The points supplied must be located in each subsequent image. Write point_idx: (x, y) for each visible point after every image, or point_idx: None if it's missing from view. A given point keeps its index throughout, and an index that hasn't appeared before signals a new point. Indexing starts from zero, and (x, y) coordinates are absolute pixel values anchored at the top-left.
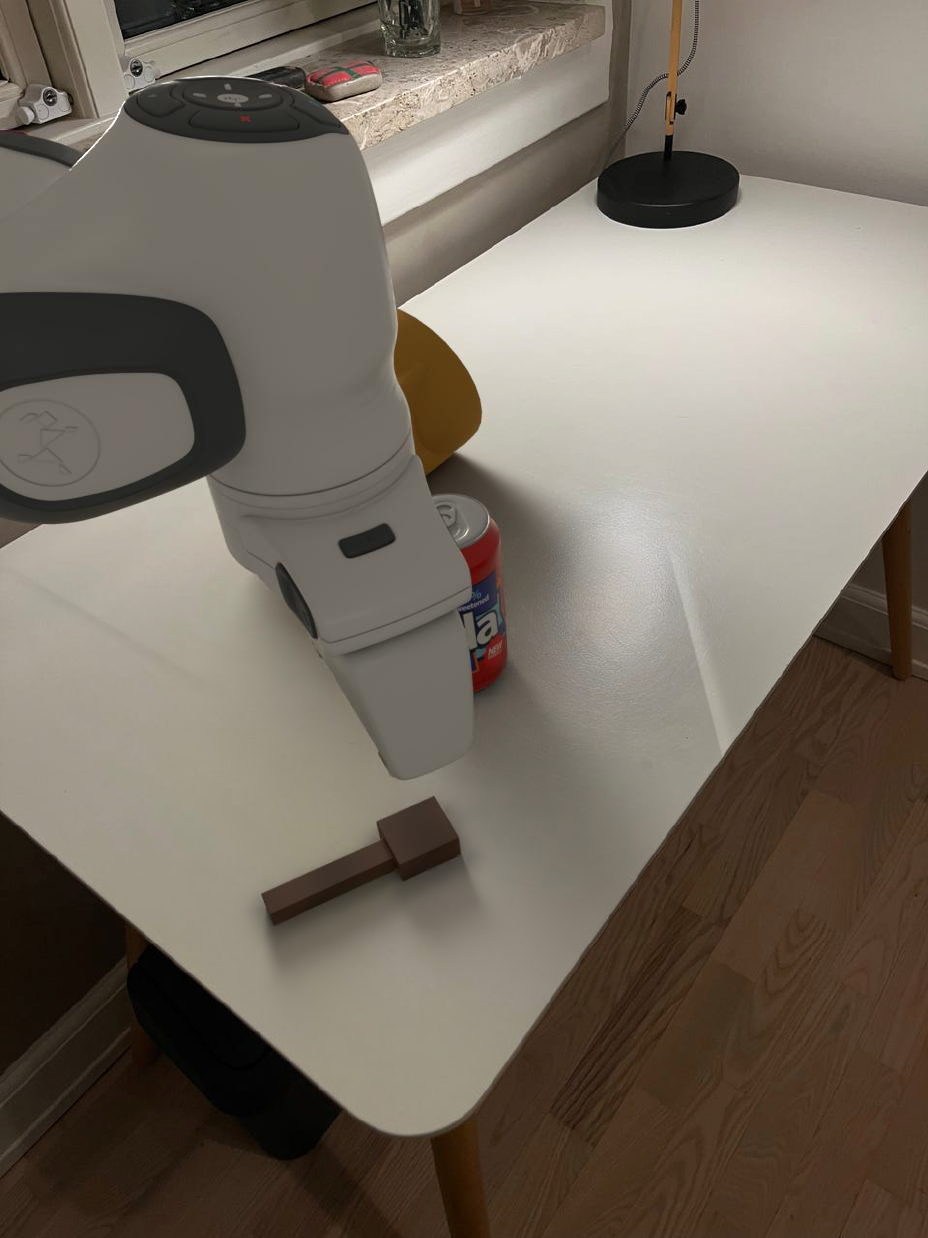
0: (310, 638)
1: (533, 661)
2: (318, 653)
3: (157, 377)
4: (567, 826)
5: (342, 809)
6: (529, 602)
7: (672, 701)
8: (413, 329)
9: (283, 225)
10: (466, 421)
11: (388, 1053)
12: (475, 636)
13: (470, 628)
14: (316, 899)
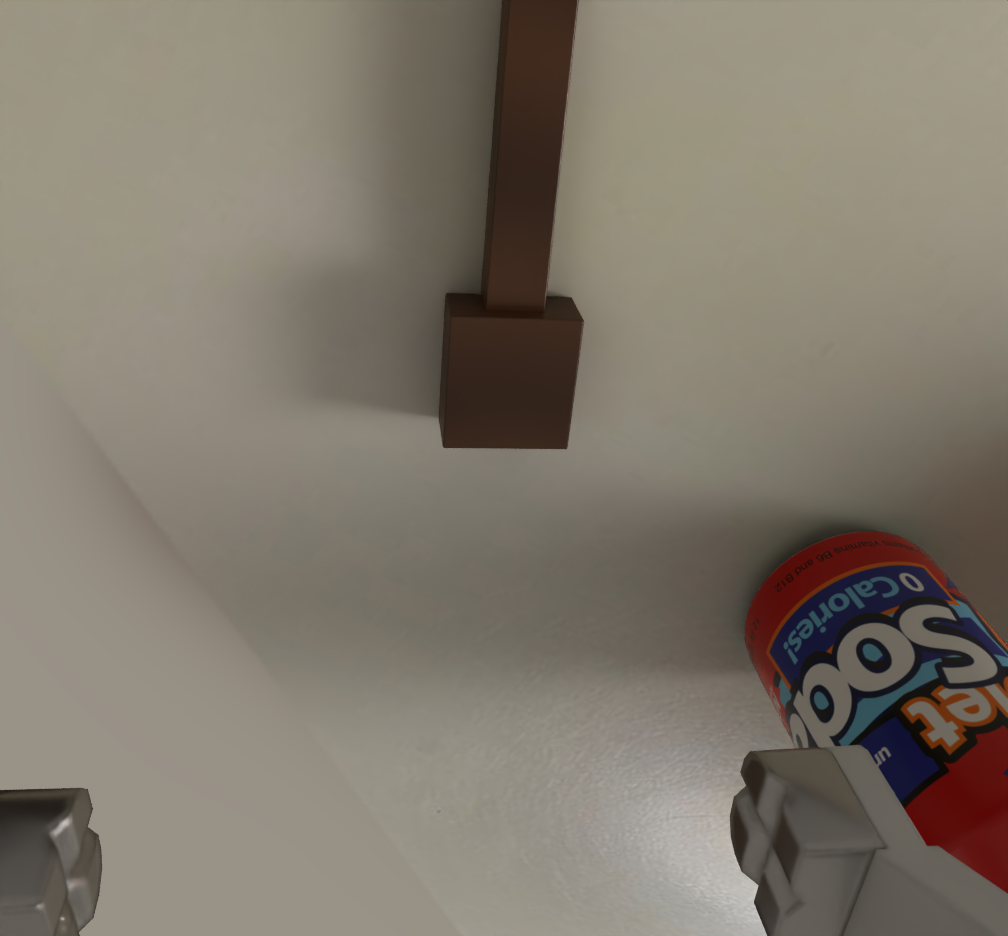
0: (862, 785)
1: (743, 701)
2: (771, 772)
3: None
4: (387, 597)
5: (689, 258)
6: None
7: (515, 825)
8: None
9: None
10: None
11: (72, 81)
12: (806, 726)
13: (822, 740)
14: (498, 106)
